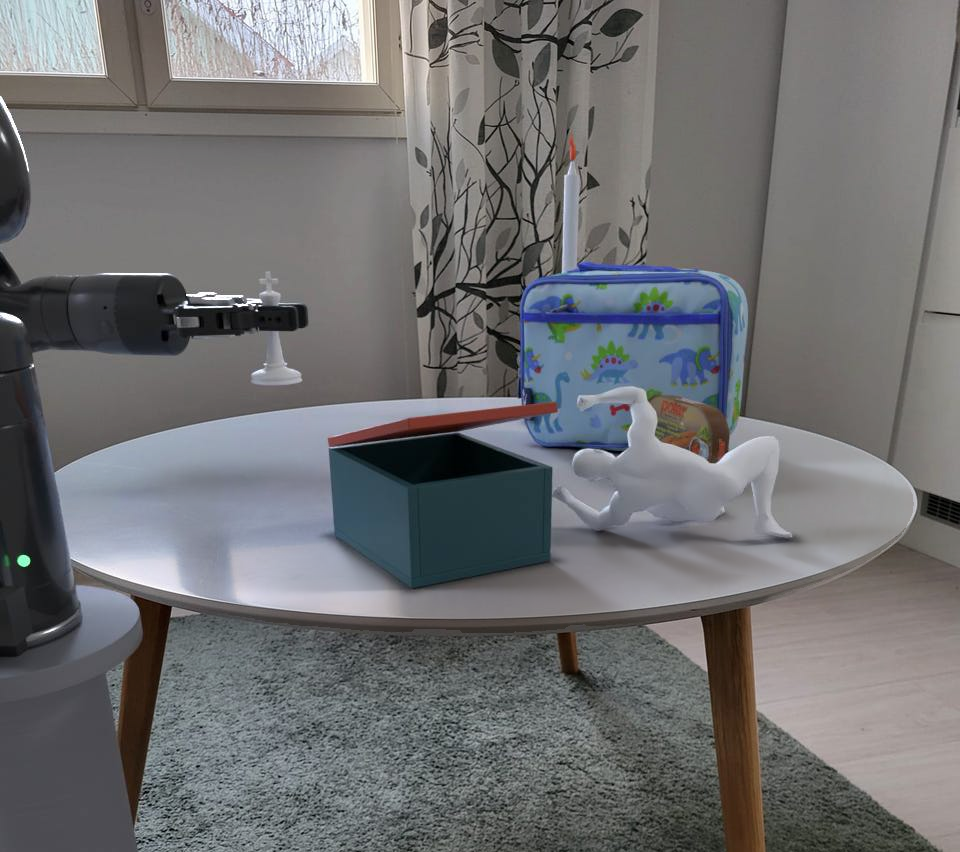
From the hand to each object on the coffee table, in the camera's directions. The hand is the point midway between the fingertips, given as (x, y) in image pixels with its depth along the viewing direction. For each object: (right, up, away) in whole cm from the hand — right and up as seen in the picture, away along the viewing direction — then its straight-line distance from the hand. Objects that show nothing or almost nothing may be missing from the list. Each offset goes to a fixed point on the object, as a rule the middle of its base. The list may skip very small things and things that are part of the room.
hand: (301, 317), depth 91 cm
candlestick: (+28, -1, +40) cm, 49 cm away
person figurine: (+34, -21, -6) cm, 40 cm away
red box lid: (+13, -14, -13) cm, 23 cm away
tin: (+38, -13, +12) cm, 42 cm away
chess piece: (-3, -6, +3) cm, 7 cm away
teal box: (+13, -23, -9) cm, 28 cm away
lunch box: (+34, -7, +26) cm, 44 cm away
